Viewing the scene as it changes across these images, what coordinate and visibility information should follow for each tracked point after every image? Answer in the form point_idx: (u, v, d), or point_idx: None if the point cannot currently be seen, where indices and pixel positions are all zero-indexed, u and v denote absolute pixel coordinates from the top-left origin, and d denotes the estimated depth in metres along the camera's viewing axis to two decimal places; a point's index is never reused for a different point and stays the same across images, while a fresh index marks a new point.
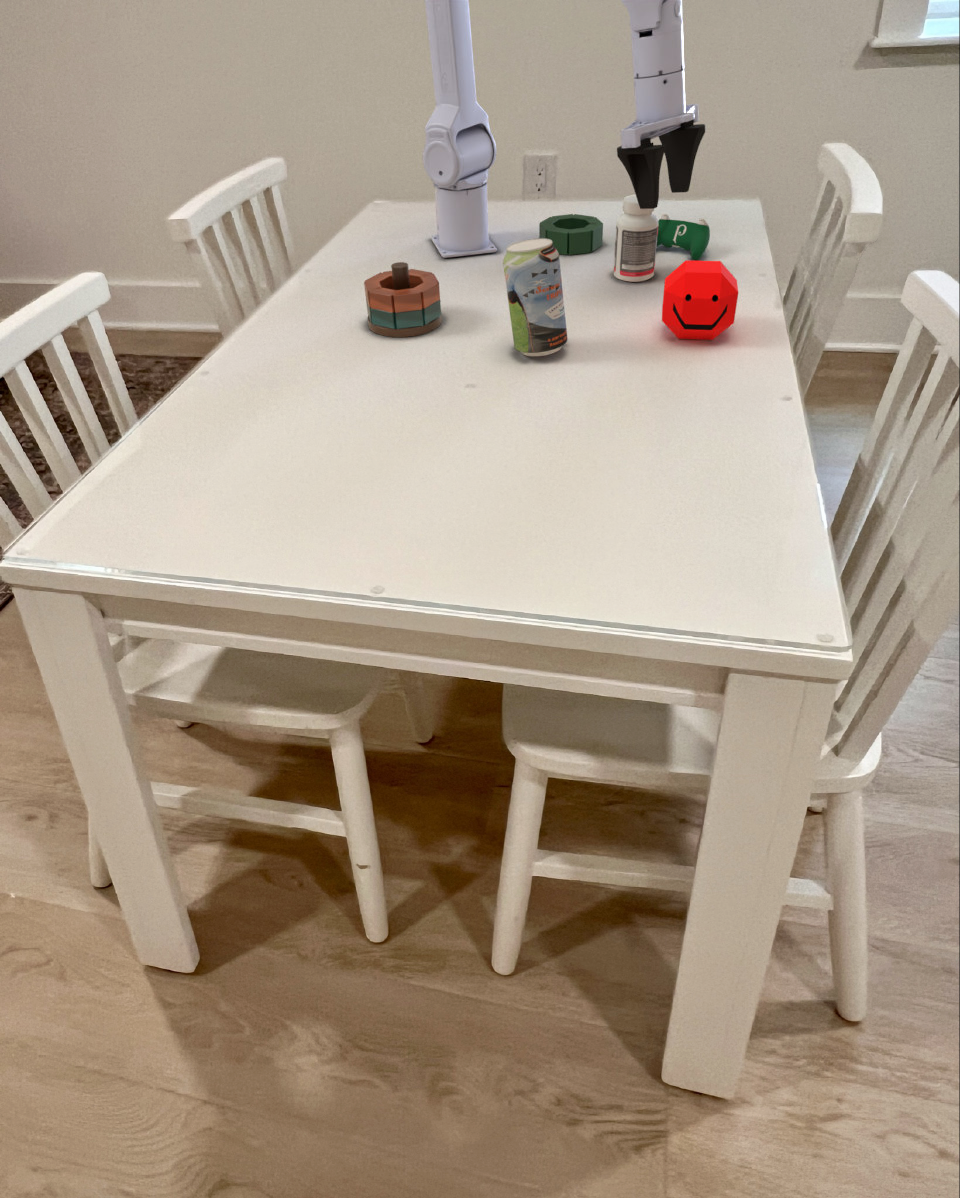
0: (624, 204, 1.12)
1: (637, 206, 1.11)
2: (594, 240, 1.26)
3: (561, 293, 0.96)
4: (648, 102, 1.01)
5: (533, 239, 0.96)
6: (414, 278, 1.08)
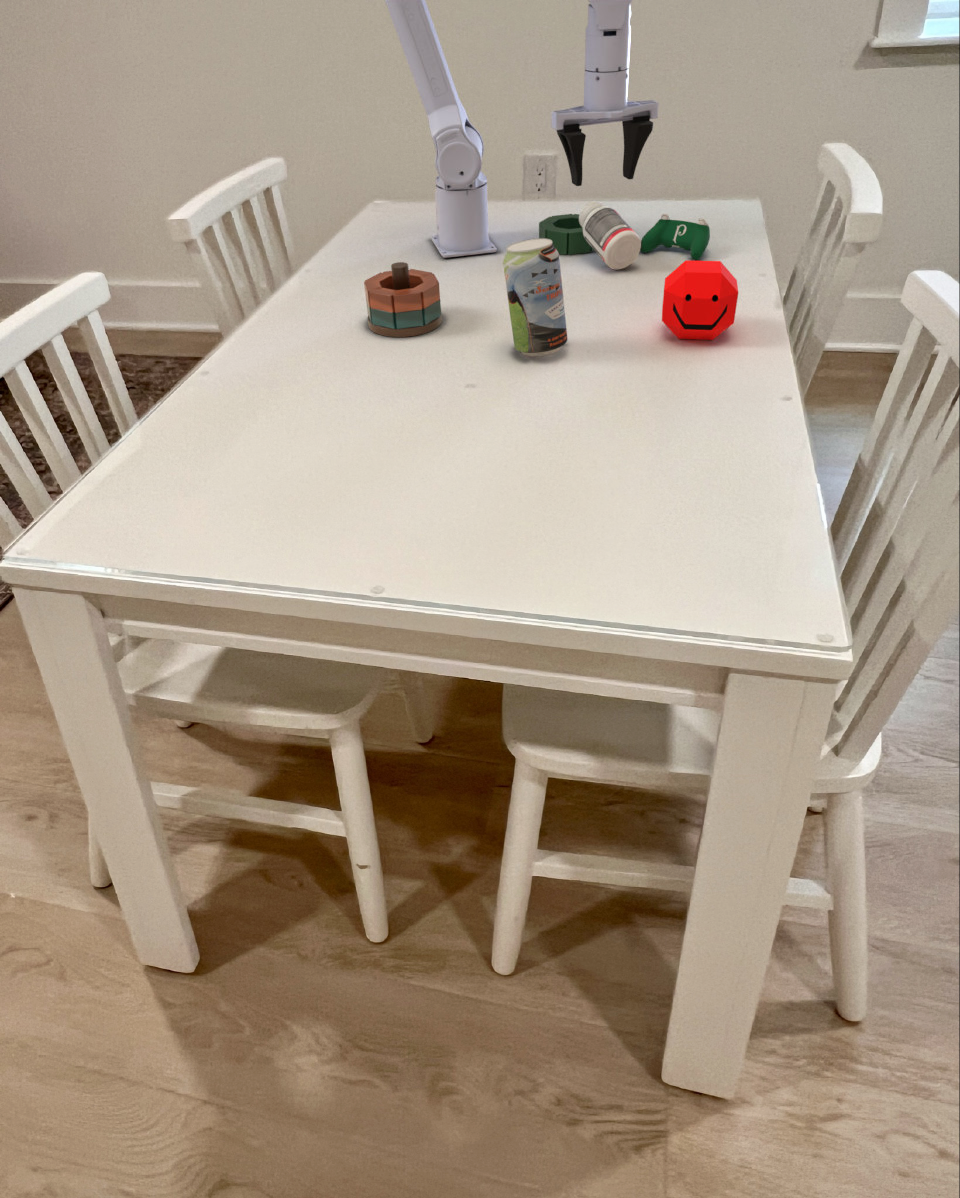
0: (580, 223, 1.23)
1: (584, 208, 1.22)
2: None
3: (561, 293, 0.96)
4: (586, 92, 1.16)
5: (533, 239, 0.96)
6: (414, 278, 1.08)
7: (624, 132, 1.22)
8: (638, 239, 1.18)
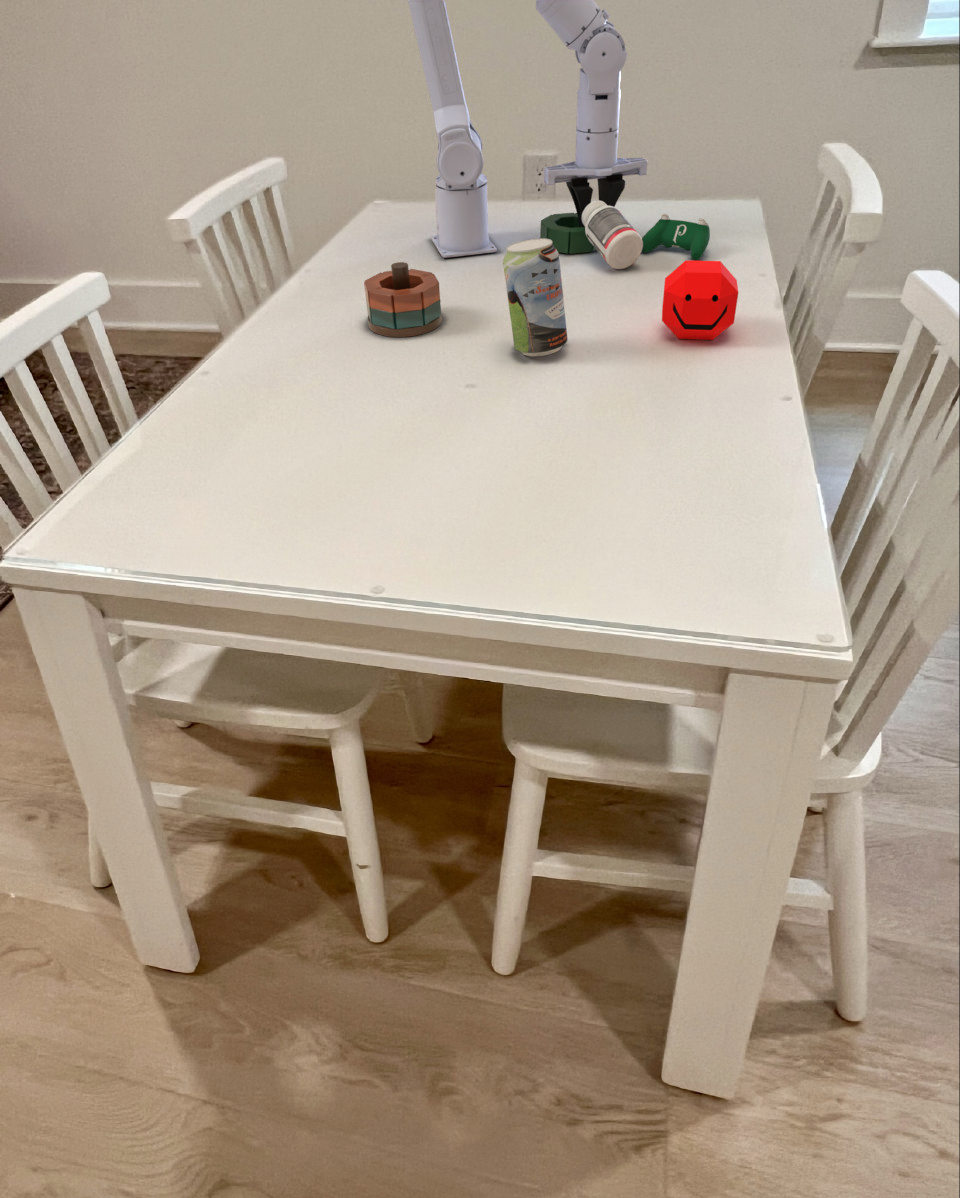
0: (583, 221, 1.23)
1: (588, 206, 1.22)
2: None
3: (561, 293, 0.96)
4: (577, 150, 1.21)
5: (533, 239, 0.96)
6: (414, 278, 1.08)
7: (599, 188, 1.27)
8: (640, 240, 1.18)
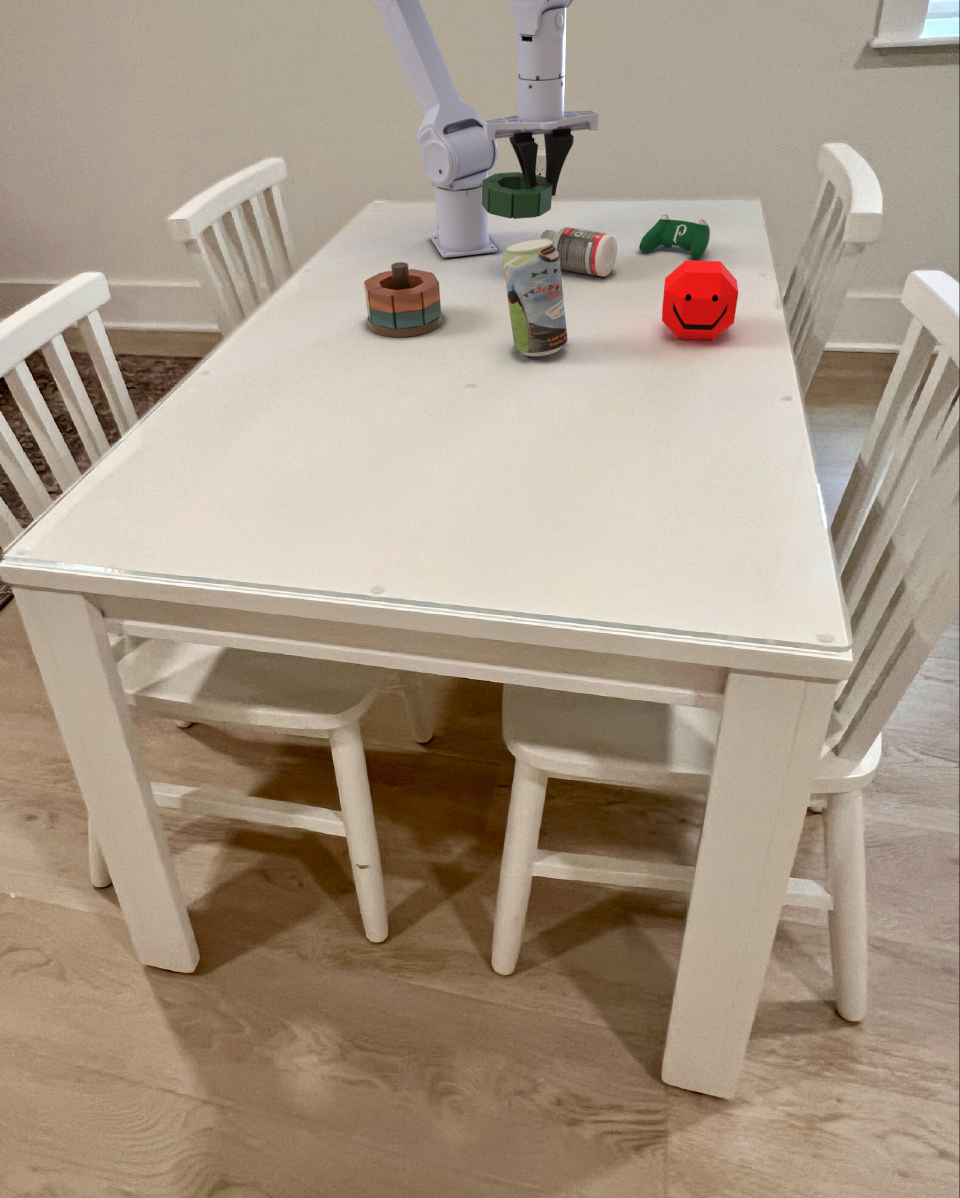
0: None
1: None
2: (542, 203, 1.14)
3: (561, 293, 0.96)
4: (519, 101, 1.09)
5: (533, 239, 0.96)
6: (414, 278, 1.08)
7: (546, 145, 1.15)
8: (608, 238, 1.15)
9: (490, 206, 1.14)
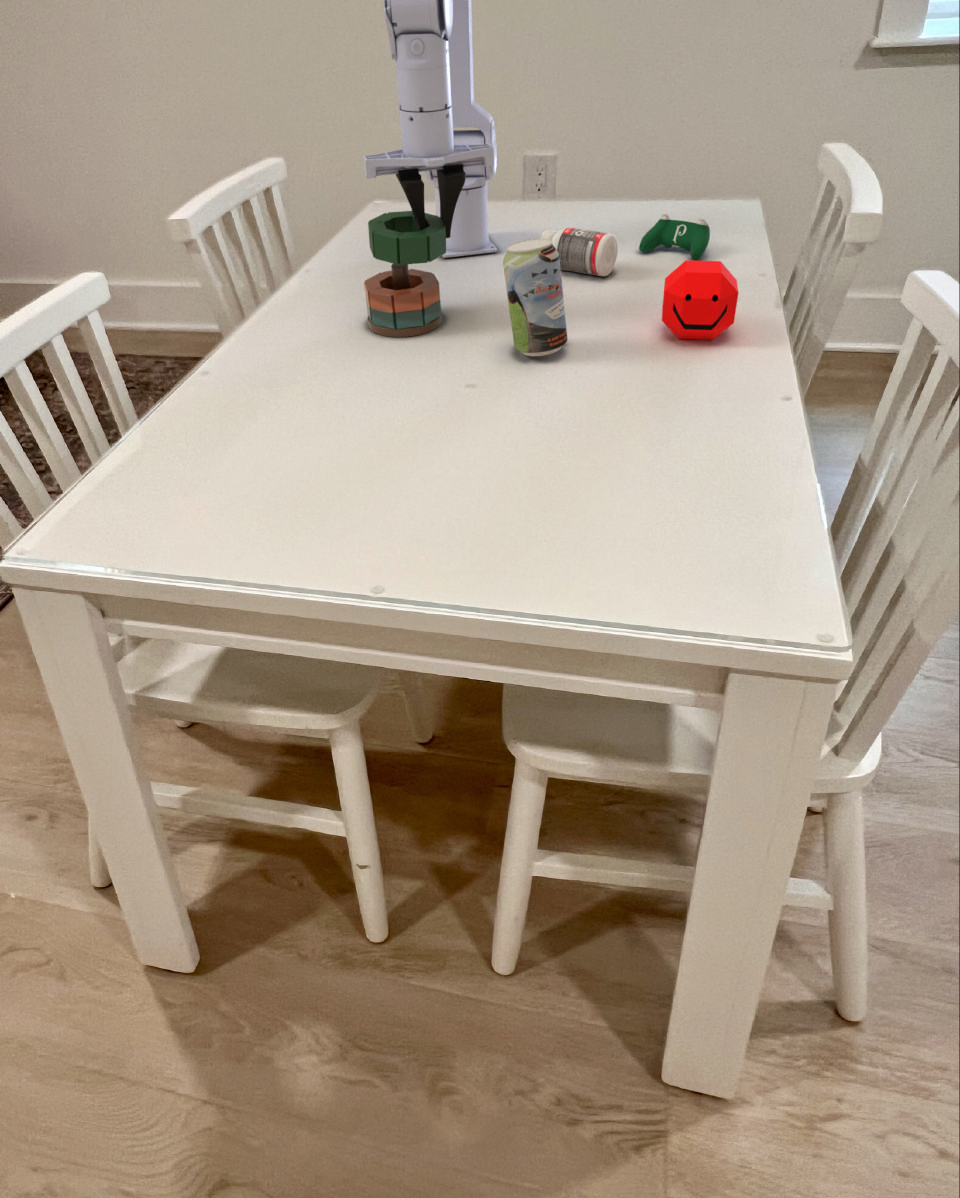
0: None
1: None
2: (432, 248, 1.02)
3: (561, 293, 0.96)
4: (402, 135, 0.97)
5: (533, 239, 0.96)
6: (414, 278, 1.08)
7: (438, 182, 1.03)
8: (609, 237, 1.15)
9: (375, 250, 1.02)
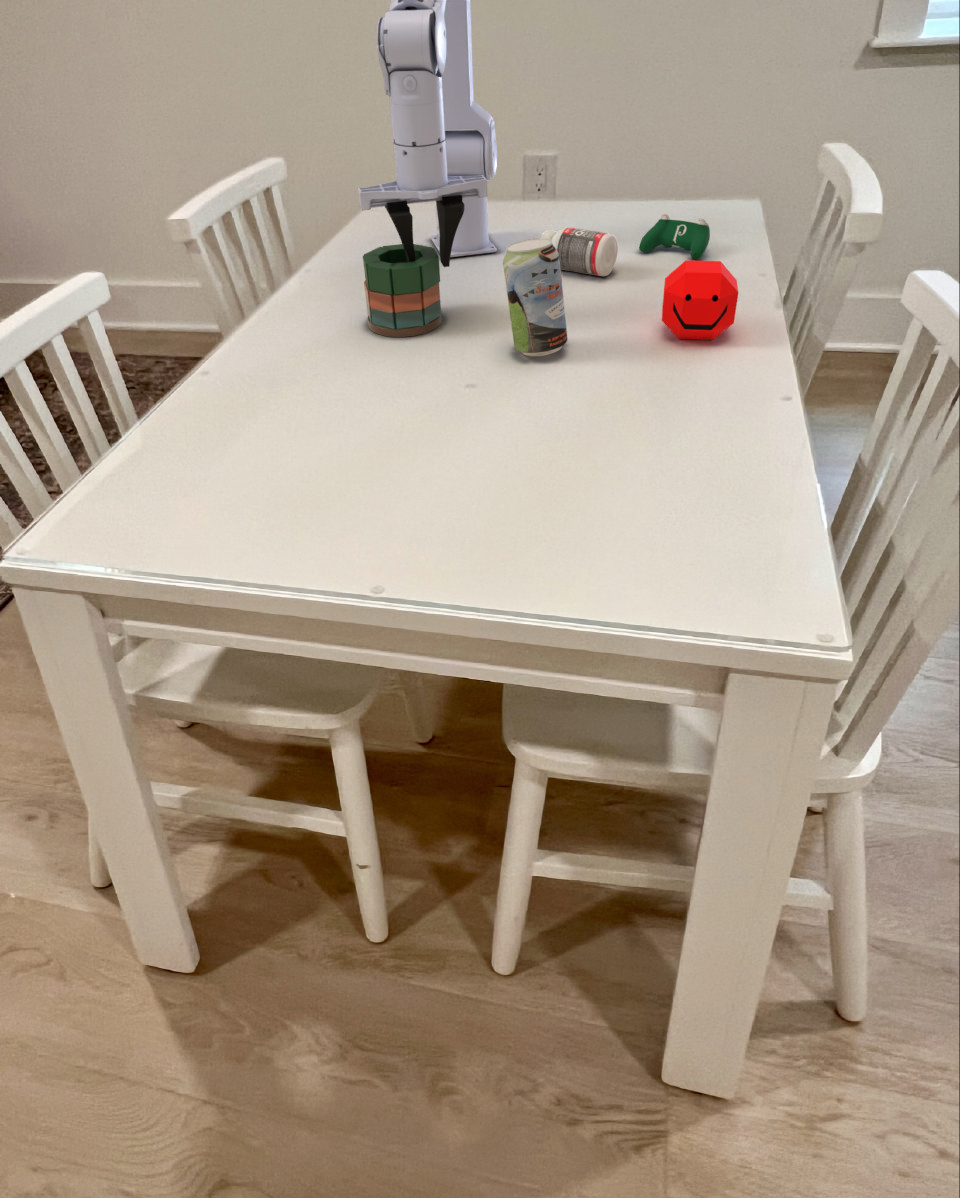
0: None
1: None
2: (425, 277, 1.03)
3: (561, 293, 0.96)
4: (396, 167, 0.98)
5: (533, 239, 0.96)
6: None
7: (437, 212, 1.04)
8: (609, 237, 1.15)
9: (370, 282, 1.03)
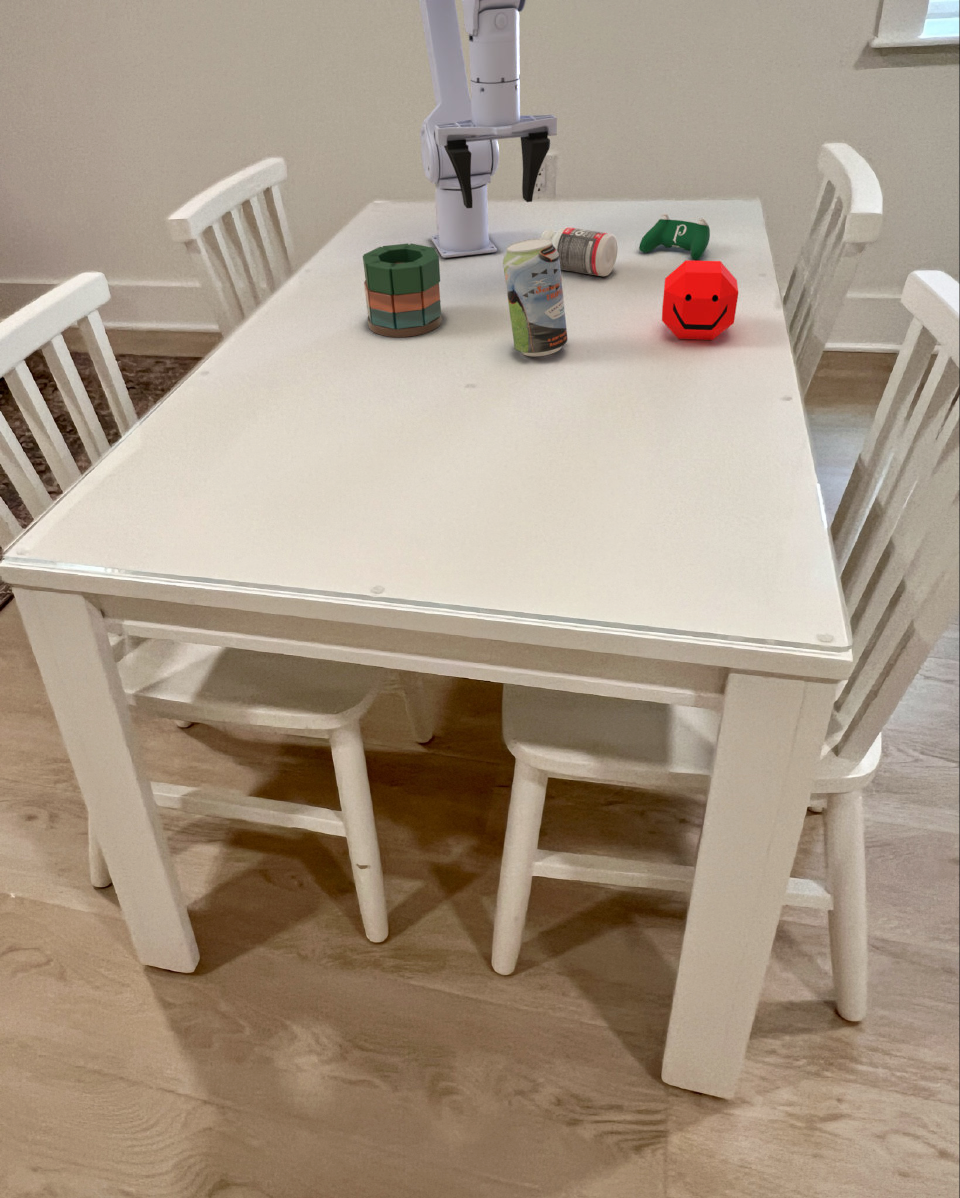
0: None
1: None
2: (425, 277, 1.03)
3: (561, 293, 0.96)
4: (472, 105, 1.04)
5: (533, 239, 0.96)
6: None
7: (522, 149, 1.10)
8: (609, 237, 1.15)
9: (370, 282, 1.03)
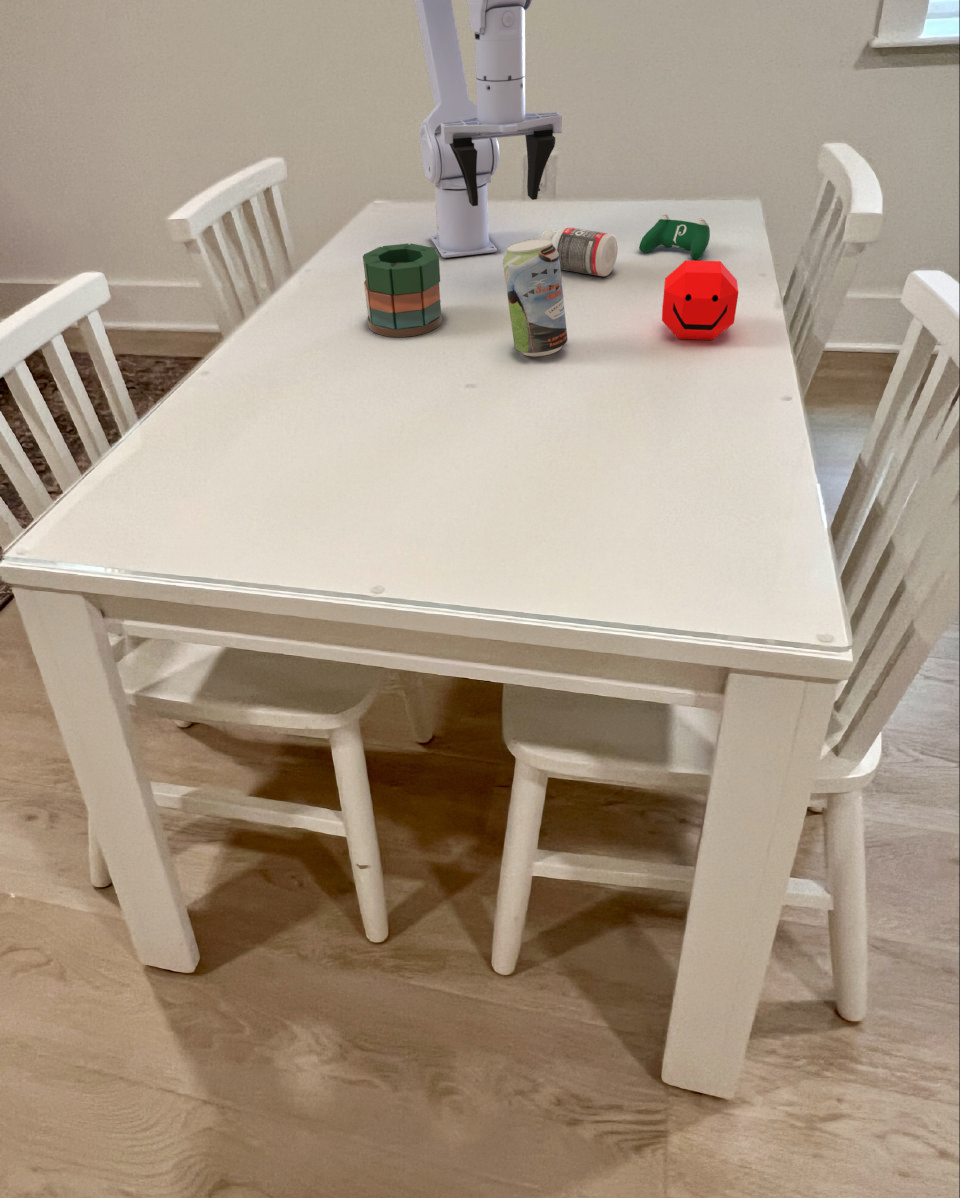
0: None
1: None
2: (425, 277, 1.03)
3: (561, 293, 0.96)
4: (478, 103, 1.04)
5: (533, 239, 0.96)
6: None
7: (527, 147, 1.10)
8: (609, 237, 1.15)
9: (370, 282, 1.03)
